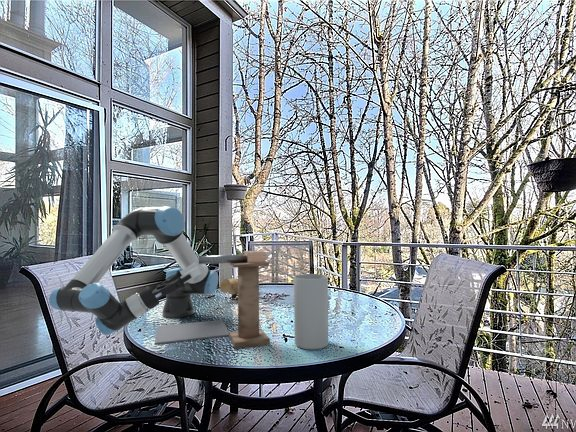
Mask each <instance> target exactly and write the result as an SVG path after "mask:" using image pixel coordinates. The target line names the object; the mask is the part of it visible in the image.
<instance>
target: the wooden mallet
mask: <svg viewBox="0 0 576 432" xmlns="http://www.w3.org/2000/svg"><path fill="white" fill-rule="evenodd" d="M266 254H267V253H266V251H264V250H244V251H243V254H226V255H225V254H221V255H219V254H218V255H199V256H198V259H199V264H205V265H216V264H217V265H218V264H229V263H241V262H246V263H263V262H267V261H266V259H267V257H266V256H267V255H266Z"/></svg>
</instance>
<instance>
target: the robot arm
mask: <svg viewBox="0 0 576 432" xmlns="http://www.w3.org/2000/svg"><path fill="white" fill-rule="evenodd" d="M184 220H185V218H184V215H183V213H182V212H181V211H180V210H179V209H178V208H177V207H173V206H168V205H165V206H143V207H139V208H136V209H133V210H132V211H130V212H128V213H127V214H126V215H125V216H123V217H122V218H121V219H120V220H119V221H118V222H116V224H115V225H114V226H113V228H112V232H111V234H110V235H109V236H108V237H107V239H105V241H104V242H103V243H102V244H101V245H100V247H99V248H98V249H96V251H94V253H93V254H92V255H91V256H90V257H89V259H87V261H86V262H85V264H84V265H82V267H81V268H80V269H79V270H78V271H77V272H76V274H75V275H74V276H73V277H72V278H71V279H70V281H69V282H68V283H67V284H66V285H63V286H59V287H56V288H54V289H53V290H52V291H51V293H50V294H49V297H48V303H49V305H50V306H51V308H53V309H54V310H59V311H64V312H66V311H68V312H77V313H78V312H79V313H89V314H93V315H94V316H95V321H94V323H95V325H96V328H97V329H98V330H99V331H100V333H101V334H102V335H104V336H110V335H112V334H114V333H115V332H117V331H120V330H121V329H122V328H124V327H125V326H127V325H129V324H130V323H132V322H133V321H135V320H136V319H138V318H139V317H144V315H145V314H146V313H147V312H149V310H153V309H154V308H156V307H157V306H158V305H160V299H161V298H163V297H165V301H164V305H163V307H162V310H161V311H162V314H161V315H162V317H164V318H169V319H179V318H184V317H185V318H187V317H189V316H191V315H193V314H195V307H194V305H193V302H192V298H191V296H192V295H204V296H211V295H213V294H214V293H216V290H217V288H218V285H219V275H218V272H217V271H216V270H210V269H209V267H208V265H207V264H199V256H197V254H196V253H195V251H194V249H193V248H192V246H191V244H190V243H189V242H188V240H187V239H186V238H187V237H185V235H184V230H185V229H184V228H185V222H184ZM142 236H153V237H154V239H155V240H156V241H157V243H159V244H160V245H164V246H165V247H166V249H167V250H168V252H169V253H170V254H171V255H172V257H173V259H174V261H176V263H177V264H178V266H179V267H176V268H170V269H168V270H166V273H165V274H166V275H165V276H166V277H165V280H164V281H162V282H161V283H159V284H158V285H156V287H155V288H154V289H152V287H151V286H149V285H148V286H145V287H144V288H142V289H141V290H139V292H136V293H134V294H132V295H130V296H129V297H127V298H126V299H124V300H123V301H121V302H120V301H119V300H118V299H117V298H116V297H115V296H114V295H113V294H112V293H111V292H110V291H109V289H108V288H107V287H105V286H104V285H102V284H101V283H100V281H101V280H102V279H103V277H104V276H105V275H106V274H107V272H108V271H109V270H110V269H111V267H112V266H113V265H114V264H115V262H116V261H117V260H118V258H119V257H120V256H121V255H122V254H123V253H124V252H125V250H126V249H127V248H128V247H129V246H130V244H132V243H135V242H136V240H137V239H138V238H140V237H142Z"/></svg>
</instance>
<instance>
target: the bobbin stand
mask: <svg viewBox="0 0 576 432" xmlns="http://www.w3.org/2000/svg"><path fill="white" fill-rule="evenodd" d="M228 264H229V265H230V266H232V267H233V268H234V269H235V268H237V279H238V295H237V317H238V318H237V325H238V326H237V328H238V329H237V330H234V331H228V332H229V336H228V338H229V339H230V342H231V343H232V346H233V347H234V349H242V348H251V347H257V346H264V345H270V344H271V343H270V341H271V339H270V337H269V336H268V335H267V334H266V333H265V331H264V330H263V329H262V328H260V272H259V271H260V267H269V266H270V262H267V261H266V262H263V263H246V262H241V263H228Z"/></svg>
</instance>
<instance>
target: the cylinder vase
mask: <svg viewBox="0 0 576 432" xmlns="http://www.w3.org/2000/svg"><path fill="white" fill-rule="evenodd" d="M328 277H329V276H328V275H327V274H326V275H325V274H320V273H318V274H317V273H302V274H297V275H294V276H293V308H294V309H293V313H294V314H293V315H294V316H293V317H294V319H293V322H294V325H293V326H294V329H293V331H294V332H293V333H294V344H295V346H296V347H298V348H299V349H303V350H310V351H311V350H314V351H315V350H321V349H324V348H326V347H327V346H328V345H329V294H328V293H329V288H328V287H329V285H328V284H329V283H328V282H329V280H328V279H329V278H328Z"/></svg>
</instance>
